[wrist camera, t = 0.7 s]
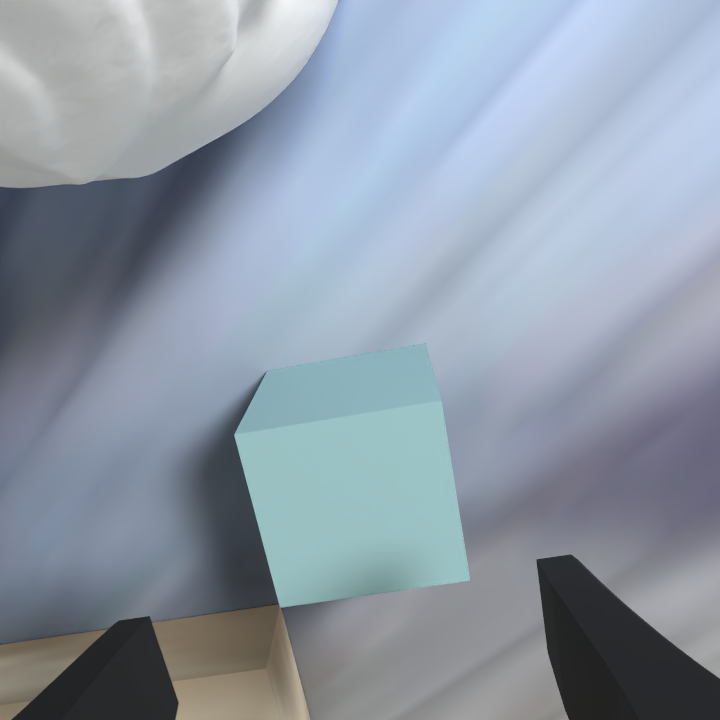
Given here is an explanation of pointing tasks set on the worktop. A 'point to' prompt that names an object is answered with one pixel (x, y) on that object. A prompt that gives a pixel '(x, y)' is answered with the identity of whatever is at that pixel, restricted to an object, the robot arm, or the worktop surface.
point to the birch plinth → (184, 666)
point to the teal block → (353, 477)
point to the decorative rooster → (138, 80)
